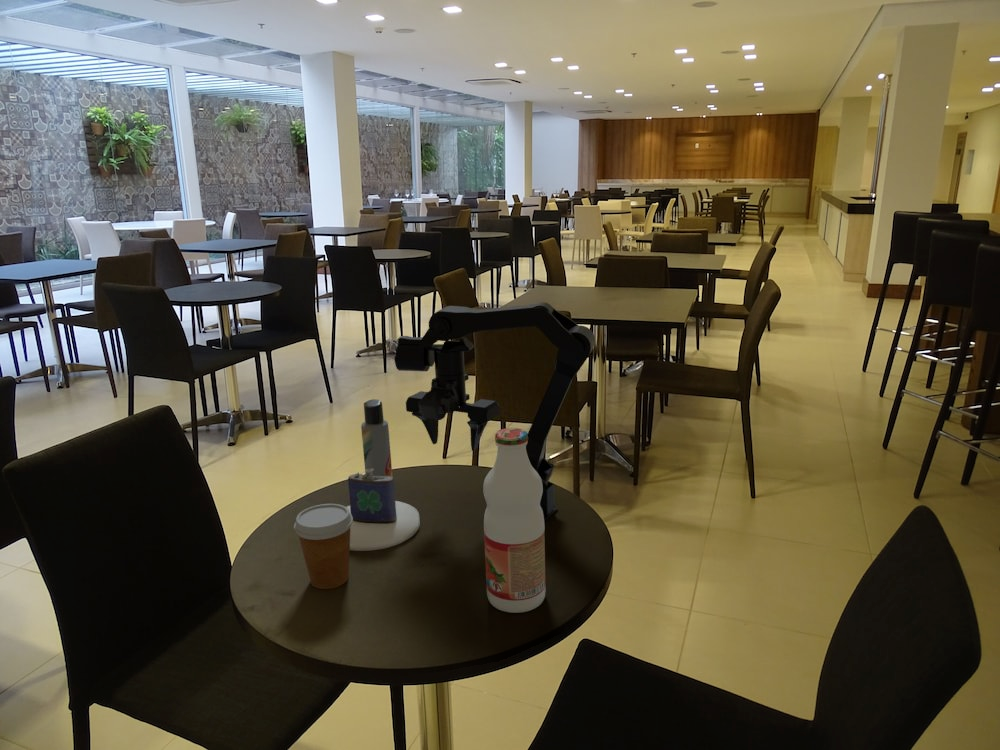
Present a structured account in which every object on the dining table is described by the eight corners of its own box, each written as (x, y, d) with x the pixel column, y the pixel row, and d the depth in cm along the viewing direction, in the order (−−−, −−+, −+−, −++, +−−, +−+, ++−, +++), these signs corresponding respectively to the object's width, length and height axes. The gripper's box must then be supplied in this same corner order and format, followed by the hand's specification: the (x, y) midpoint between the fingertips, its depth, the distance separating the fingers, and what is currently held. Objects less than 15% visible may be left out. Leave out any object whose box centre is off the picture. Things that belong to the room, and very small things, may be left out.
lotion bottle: (395, 483, 159) (389, 397, 153) (389, 494, 153) (382, 405, 148) (370, 483, 159) (363, 397, 154) (363, 494, 154) (355, 405, 148)
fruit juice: (540, 617, 109) (537, 445, 101) (480, 611, 111) (472, 442, 103) (549, 583, 118) (547, 423, 110) (494, 578, 120) (487, 421, 112)
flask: (398, 518, 139) (394, 467, 136) (393, 525, 136) (389, 473, 133) (354, 515, 141) (349, 464, 138) (348, 522, 138) (343, 471, 135)
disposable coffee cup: (308, 601, 115) (300, 534, 112) (295, 573, 123) (287, 510, 120) (365, 584, 119) (359, 519, 116) (349, 559, 128) (343, 497, 124)
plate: (437, 517, 142) (437, 510, 142) (381, 559, 127) (380, 551, 127) (366, 500, 151) (365, 493, 150) (305, 538, 136) (304, 531, 135)
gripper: (386, 377, 137) (392, 453, 141) (470, 388, 128) (474, 469, 132) (419, 363, 146) (424, 435, 150) (499, 372, 137) (502, 448, 141)
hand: (454, 446), depth 143 cm, fingers open, 9 cm apart
